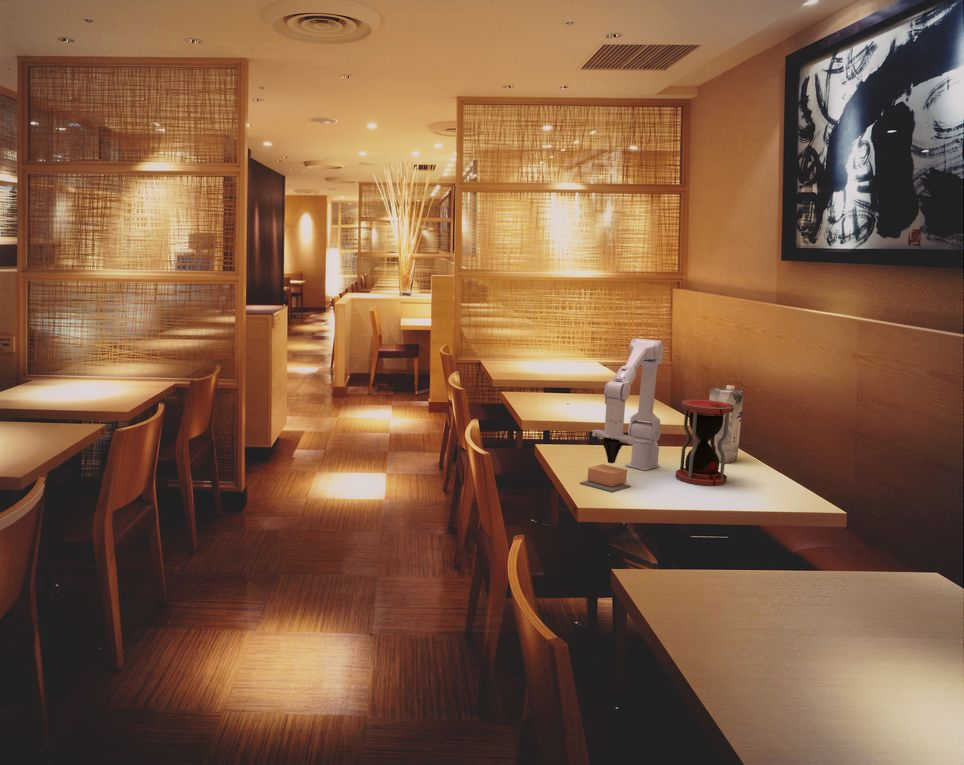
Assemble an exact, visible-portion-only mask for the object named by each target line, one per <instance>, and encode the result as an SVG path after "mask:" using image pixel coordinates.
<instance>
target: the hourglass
mask: <svg viewBox="0 0 964 765" xmlns="http://www.w3.org/2000/svg"><path fill="white" fill-rule="evenodd" d="M681 408H683V409H684V419H683V429H684V431H685V434H686V440H685V441H686V442H685V443H684V444H683V445H682V448H681V456H680V466H679V469H676V471H675V477H676V479H677V480H679V481H681V482H685V483H688V484H692V485H698V486H707V487H708V486H711V487H712V486H721V485H725V484H726V483H727V478H728V476H727V475H726V474H725V464H726V463H725V454H724V452H723V450H722V442H723V440H724V439H725V438H726V436H727V433H728V422H729V413H731V412H733V405H731V404H728V403H724V402H720V401H711V400H709V399H685V400H682V401H681ZM725 413H726V416H725V426H724V434H723V436H722V438H721V439H719V442H718V444H717V446H718V451H719V452H720V454H721V462H719V458H718V455H717V454H716V446H715V435H716V434H717V433H718V432H719V431H720V430H721V428H722V425H723V415H725ZM688 424H689V427H690V429H691V432H690V430H689V428H688ZM698 439H699V443H698ZM709 440H711V446H712V447H711V446H710V445H709V444H708V441H709ZM691 441H693V442H692V448H691V449H690V451H688V453H687V454H686V448H688V447H687V446H689V445H690V444H691ZM685 457H686V458H685ZM719 468H720V470H719Z"/></svg>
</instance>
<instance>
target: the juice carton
mask: <svg viewBox="0 0 964 765" xmlns="http://www.w3.org/2000/svg"><path fill="white" fill-rule="evenodd" d="M735 388H736V387H735V385H726V387H713V388H709V398H708V400H711V401H720V402H724V403H728V404H731V405H733V412H731V413H729V422H728V433H727V436H726V438H725V439H724V440H723V442H722V450H723V452H724V454H725V464H727V463H734V462H736V461H737V457H738V453H739V445H740V435H741V426H742V425H741V423H742V415H743V402H744V391H743V390H738V389H735ZM725 416H726V413H725V415H723V425H722V428H721V430H720V431H719V432H718V433H717V434H716V435H715V446H716V454H717V455H718V458H719V463H721V454H720V452H719V451H718V446H717V444H718V442H719V439H721V438H722V436H723V434H724V426H725ZM708 444H709V445H710V446H711V440H709V441H708ZM711 447H712V446H711Z"/></svg>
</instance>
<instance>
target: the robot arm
mask: <svg viewBox="0 0 964 765" xmlns="http://www.w3.org/2000/svg"><path fill="white" fill-rule="evenodd" d="M664 349H665V347H664V344H663V342H662V340H660V339H657V340H656V339H645V338H638V337H633V338H632V340H631V341H630V344H629V348H628V350H629V356H628V359H627V361H626V364H624V365H621V366H620V367H619V369H618V370H617V372H616V373H615V375H614V376H613V378H612V380H610V381H608V382H606V383H605V385H604V390H603V396H604V405H605V416H604V417H605V418H604V419H605V420H604V430H602V429H592V434H591V435H592V437H598V438H601V439H603V440H601V444H602V445H603V448H604V450H605V453H606V454H605V455H606V458H607V463H608V464H615V463H616V461H617V457H618V455H619V452H620V450H621V449H622V448H623V445H624V444H625V443H626V444H628V445H632V446H631V447H632V448H631V459H630V462H629V463H626V464H625V467H629V468H632V469H638V470H642V471H648V470H652V469H655V468H658V467H659V468H660V467H661V465H660V464H658V463H659V453H660V447H659V444H658V440H660V437H661V434H662V428H661V419H660V417H658V416H657V415H655V414H656V413H655V414H654V404H655V392H656V383H657V372H658V366H659V365H662V364H663V360H664V351H665V350H664ZM640 366H641V368H642V370H641V378H640V379H641V380H640V389H639V396H638V397H639V399H638V409H637V412H636V413H635V414H633V415H632V416H630V421H629V423H628V428H627V433H628V434H624V422H625V411H626V410H625V408H626V401H627V400H628V399H629V395H630V391H631V386H632V384H633V382H634V381H635V379H636V378H637V372H636V371H637V370H638V368H639V367H640Z"/></svg>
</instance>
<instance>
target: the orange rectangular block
mask: <svg viewBox="0 0 964 765" xmlns="http://www.w3.org/2000/svg"><path fill="white" fill-rule="evenodd" d="M627 475H628V469H625V468H621V467H618V466H613V465H608V464H605V463H602V464H597V465H594V466H590V467H588V469H587V480H588V481H590V482H594V483H598V484H601V485H605V486H609V487H613V486H616V485H620V484H627Z"/></svg>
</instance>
